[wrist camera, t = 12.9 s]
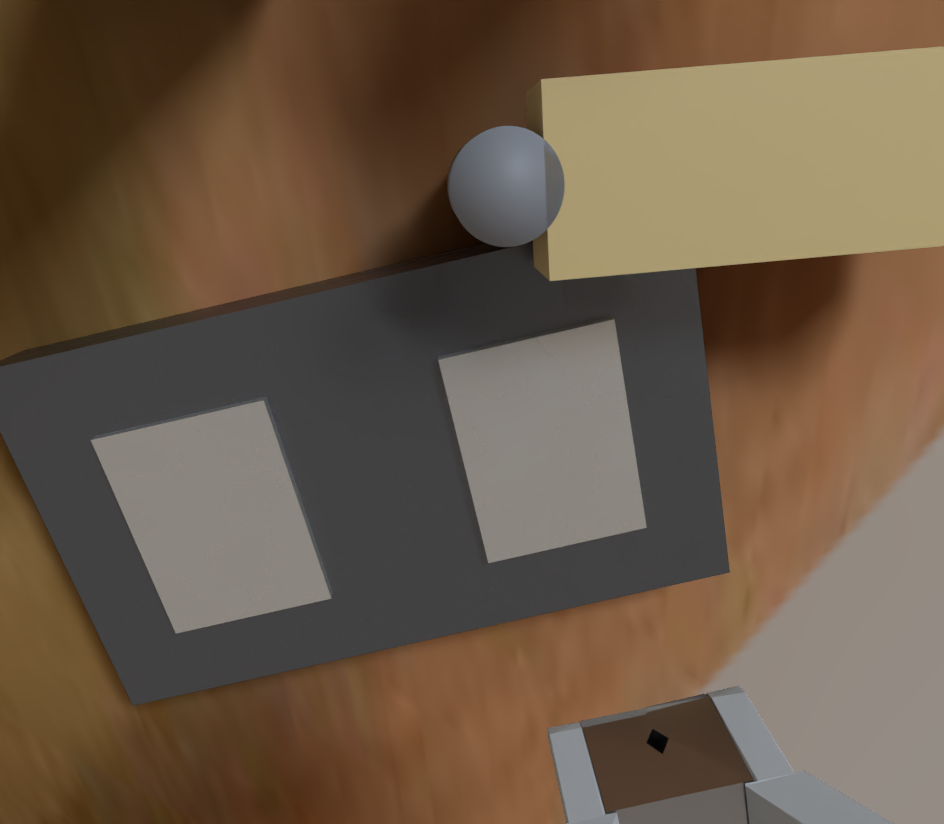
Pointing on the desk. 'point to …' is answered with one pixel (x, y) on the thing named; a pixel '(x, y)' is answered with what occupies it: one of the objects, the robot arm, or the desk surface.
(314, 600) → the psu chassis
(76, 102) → the desk surface
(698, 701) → the robot arm
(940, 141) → the beige block
